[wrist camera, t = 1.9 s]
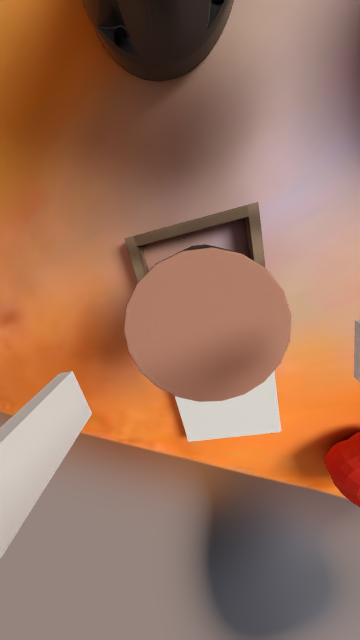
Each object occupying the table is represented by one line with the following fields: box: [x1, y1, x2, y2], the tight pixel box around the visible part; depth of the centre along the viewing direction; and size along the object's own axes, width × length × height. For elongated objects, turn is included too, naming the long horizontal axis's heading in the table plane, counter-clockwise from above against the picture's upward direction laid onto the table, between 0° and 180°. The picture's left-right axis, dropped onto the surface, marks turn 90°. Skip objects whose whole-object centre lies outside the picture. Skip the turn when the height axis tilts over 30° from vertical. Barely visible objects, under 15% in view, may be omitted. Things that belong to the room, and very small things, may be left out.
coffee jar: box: [124, 245, 291, 402], centre depth 22 cm, size 11×11×18 cm
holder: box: [125, 202, 265, 282], centre depth 29 cm, size 16×16×2 cm
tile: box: [175, 372, 281, 442], centre depth 35 cm, size 16×16×2 cm
